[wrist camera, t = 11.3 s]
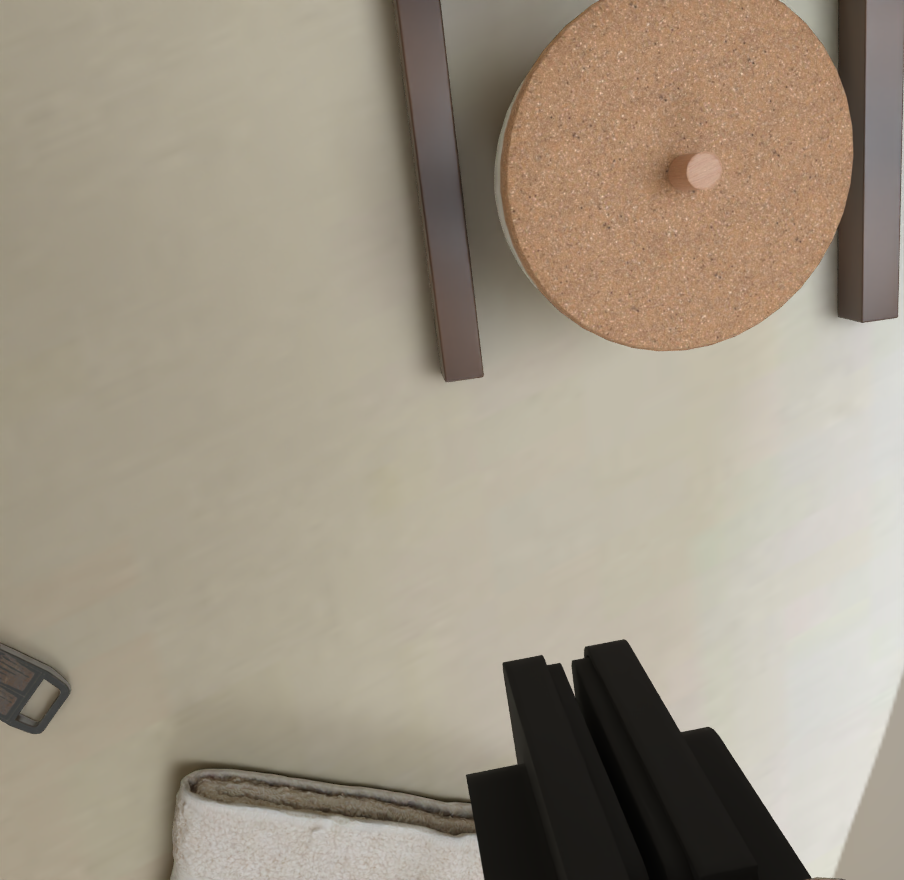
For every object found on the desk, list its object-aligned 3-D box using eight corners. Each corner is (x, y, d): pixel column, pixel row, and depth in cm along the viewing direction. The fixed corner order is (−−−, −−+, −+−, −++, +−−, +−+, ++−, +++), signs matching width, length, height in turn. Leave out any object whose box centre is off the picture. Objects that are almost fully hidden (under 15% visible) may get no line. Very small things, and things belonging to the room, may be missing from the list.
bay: (385, -51, 30) (386, -68, 28) (878, -106, 31) (909, -125, 29) (441, 373, 34) (445, 383, 32) (872, 312, 35) (898, 317, 33)
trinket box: (425, 100, 31) (451, 58, 22) (694, -24, 31) (830, -116, 22) (534, 362, 34) (595, 420, 25) (779, 251, 34) (929, 269, 25)
